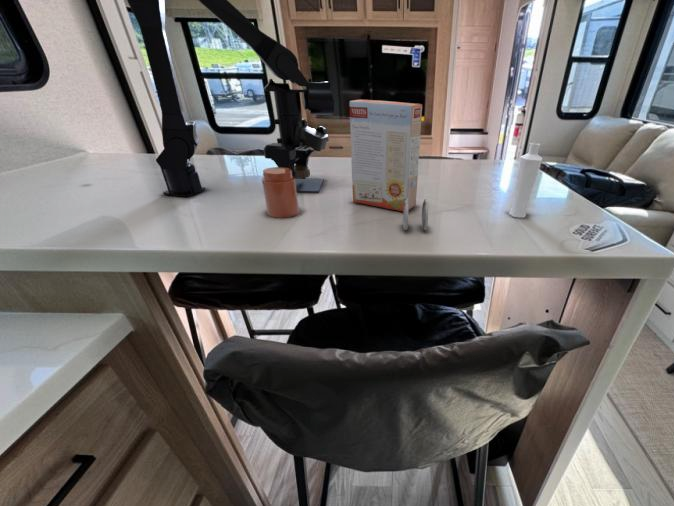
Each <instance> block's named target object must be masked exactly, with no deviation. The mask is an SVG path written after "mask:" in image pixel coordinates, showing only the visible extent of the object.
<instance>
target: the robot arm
mask: <svg viewBox="0 0 674 506" xmlns="http://www.w3.org/2000/svg"><path fill="white" fill-rule="evenodd" d="M126 1H127V3H128V6H129V7H130V9H131V11H132V14H133V15H134V18H135V21H136V22H137V24H138V27H139V30H140V33H141V37H142V40H143V44H144V48H145V53H146V57H147V60H148V64H149V68H150V71H151V75H152V79H153V84H154V88H155V91H156V94H157V98H158V103H159V106H160V111H161V134H162V135H161V136H162V145H163V150H161V152H160V153H159V155H158V156H157V157H156V158H155V162H156V163H157V165H158V166H159V168H160V171H161V174H162V177H163V180H164V183H165V185H166V188H167V190H164V191H162V194H163V195H165V196H175V197H183V198H189V197H192V196H194V195H197V194H199V193H201V192H205V191H206V187H204V186H203V187H202V183H201V179H200V176H199V173H198V171H196V167H195V164H194V163H192V162H191V163H190V161H191V159H192V157H193V156H194V155H195V153H196V151H197V148H198V145H199V143H200V138H199V137H198V133H197V125H196V121H195V120H194V121H189V120H188V118H187V116H186V113H185V111H184V108H183V103H182V99H181V95H180V91H179V86H178V81H177V78H176V72H175V69H174V64H173V60H172V55H171V51H170V46H169V41H168V38H167V34H166V6H165V5H166V4H165V0H126ZM196 1H197V2H198V3H199V4H200V5H202V6H203V7H204V8H205V9H206V10H208V12H210V13H211V15H213V16H214V17H215V18H216V19H217V20H219V21H220V22H221V23H222V24H223V25H224V26H226V27H227V28H228V29H229V30H230V31H231V32H233V34H235V35H236V36H237V37H238V38H239V39H240V40H241V41H243V43H245V44H246V45H247V46H248V47H250V49H251V50H252V52H254V53H255V54H256V56H257V57H258V58H259V59H260V60H261V62H262V63H263V64H264V65H265V66H266V67H267V68H268V70H269V71H270V72H271V73H272V75H274V76H275V77H276V78H278V79H279V80H282V81H289V82H291V84H293V85H294V86H299V87H302V88H291V87H290V84H289V83H288V82H275V80H274V79H272V78H269V79H268V82H267V84H266V85H265V86H264V88H263V89H264V91H266V92H272V93H273V97H274V103H275V110H276V118H274V119H273V123H274V125H278V126H277V127H278V132H279V137H278V138H276V142H272V143H269V144H266V145H265V146H264V147H263V150H262V151H263V155H264V158H265V159H267V160H269V159H270V160H271V161H273V162H274V164H275V165H276V167H284V168H289V169H291V170H292V176H293V177H294V178H295V173H294V165H302V166H307V167H309V166H308V165H309V161H310V160H309V159H310V158H311V156H312V155H313V154H314V153H315V152H321V151H322V150H326V146H327V143H328V142H329V141H330V139H329V134H328V132H327V128H326V127H324V126H322V125H320V126H317V128H314V127H313V128H312V127H310V126H308V121H307V119H306V118H303V111H302V108H303V110H305V111H306V110H307V113H308V114H309V115H312V116H313V115H315V116H316V115H317V116H319V115H321V116H326V115H327V116H333V114H334V113H335V112H334V111H335V99H334V98H333V91H332V87H331V82H329V81H320V82H316V81H315V82H314V81H309V80H308V79H307V77H306V76H305V75H304V74H303V72H302V71H301V69H299V62H298V58H297V56H296V55H295V54H294V53H293V51H292V50H290V49H289V48H288V47H286V46H284V45H283V44H281V43H280V42H279V41H277V40H275V39H274V38H272V37H271V36H270V35H267V34H266V33H264V32H263V31H262V30H260V29H259V28H258V27H257V26H256V25H255V24H254V23H253V22H252V21H251V20H249V19H248V18H247V17H246V16H245V15H244V14H243V13H242V12H241V11H240V10H238V8H236V7H235V6H234V5H233V4H232V3H231V1H229V0H196ZM300 93H301V94H300ZM301 179H305V178H301Z"/></svg>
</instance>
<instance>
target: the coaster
mask: <svg viewBox="0 0 674 506" xmlns="http://www.w3.org/2000/svg"><path fill="white" fill-rule="evenodd" d="M295 182H296V190H297V193H303V194H304V193H305V194H307V193H308V194H311V193H313V194H319V193H320V190H321V188H322V185H323V183H324V178H309V177H307V178H305V179H295Z"/></svg>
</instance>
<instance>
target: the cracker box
mask: <svg viewBox="0 0 674 506" xmlns="http://www.w3.org/2000/svg"><path fill="white" fill-rule="evenodd" d="M422 117H423V104H422V103H413V102H412V103H411V102H400V101H391V100H390V101H388V100H378V99H377V100H376V99H375V100H373V99H354V100H353V99H352V100H350V101H349V127H350V131H349V132H350V152H351V153H350V157H351V159H350V161H351V185H352V203H356V204H360V205H361V204H362V205H367V206H371V207H377V208H382V209H387V210H394V211H398V212H404V202H405V200H406V199H408V211H410V210H412V208H414V207H416V206H417V192H418V177H419V163H420V148H421V147H420V146H421V134H422V133H421V131H422Z"/></svg>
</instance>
